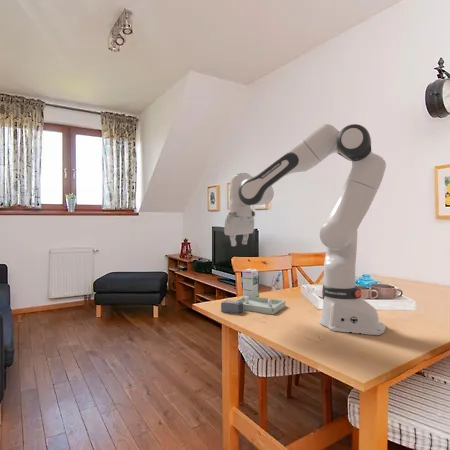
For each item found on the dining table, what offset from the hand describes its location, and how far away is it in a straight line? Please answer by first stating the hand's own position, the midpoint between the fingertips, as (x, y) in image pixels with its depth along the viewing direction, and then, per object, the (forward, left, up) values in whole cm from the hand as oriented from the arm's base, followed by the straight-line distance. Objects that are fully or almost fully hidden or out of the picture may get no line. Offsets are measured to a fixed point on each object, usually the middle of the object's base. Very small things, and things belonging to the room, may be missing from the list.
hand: (239, 245), depth 139 cm
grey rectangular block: (+3, +1, -28) cm, 29 cm away
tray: (-4, -10, -28) cm, 30 cm away
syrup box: (+5, -21, -28) cm, 35 cm away
